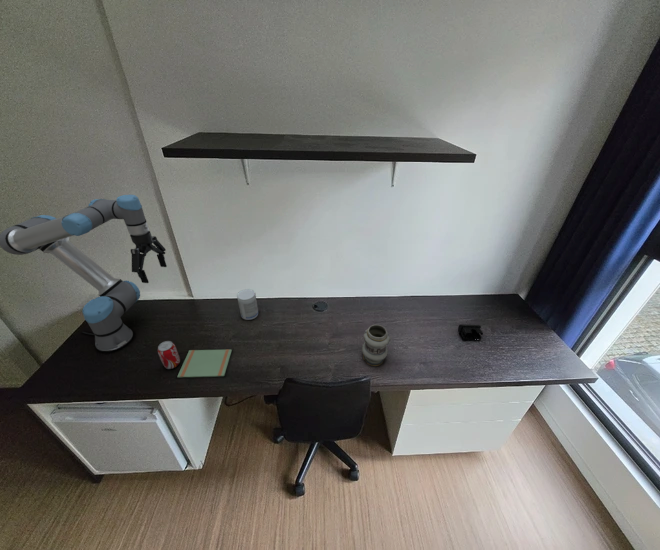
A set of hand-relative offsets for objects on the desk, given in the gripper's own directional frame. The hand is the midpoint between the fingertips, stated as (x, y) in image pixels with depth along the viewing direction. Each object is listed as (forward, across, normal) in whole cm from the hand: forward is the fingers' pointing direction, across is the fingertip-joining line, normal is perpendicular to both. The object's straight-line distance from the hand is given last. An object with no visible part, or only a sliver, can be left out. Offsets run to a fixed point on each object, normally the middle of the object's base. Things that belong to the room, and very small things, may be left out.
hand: (155, 274), depth 134 cm
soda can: (+33, -23, -13) cm, 42 cm away
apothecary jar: (+33, -6, -105) cm, 110 cm away
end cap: (+33, +16, -155) cm, 159 cm away
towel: (+33, -20, -28) cm, 48 cm away
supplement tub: (+33, +14, -36) cm, 51 cm away
